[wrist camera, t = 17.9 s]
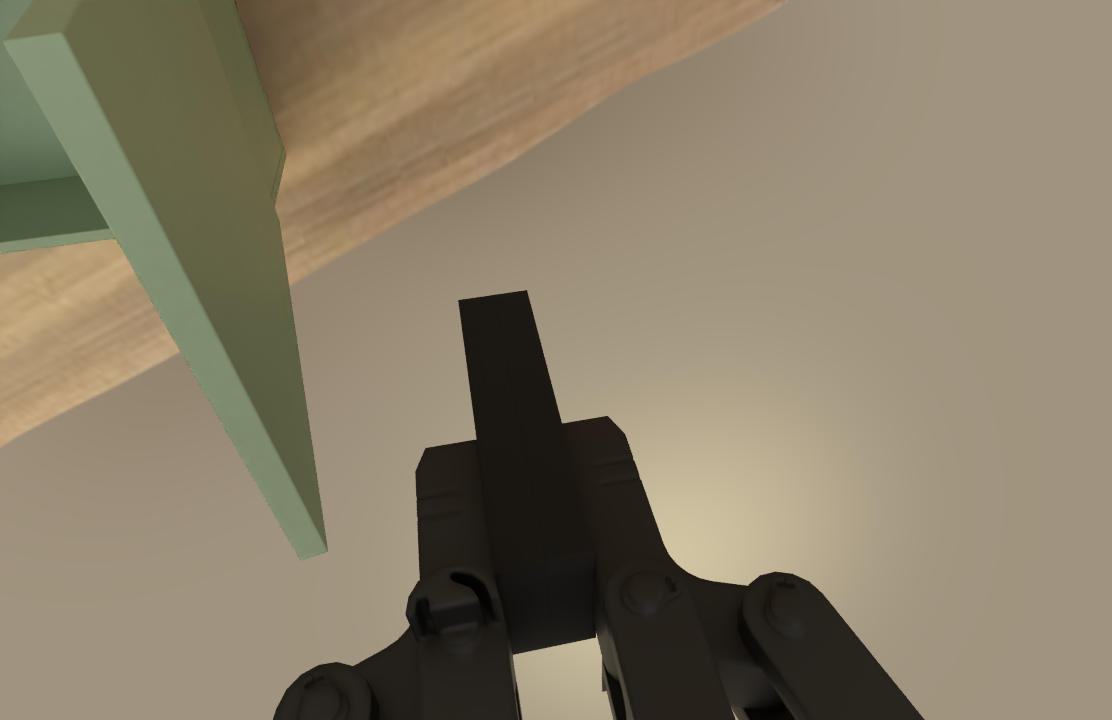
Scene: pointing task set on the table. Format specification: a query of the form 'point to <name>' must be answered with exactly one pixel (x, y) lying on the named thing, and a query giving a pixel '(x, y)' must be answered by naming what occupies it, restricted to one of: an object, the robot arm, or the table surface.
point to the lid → (185, 216)
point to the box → (49, 175)
